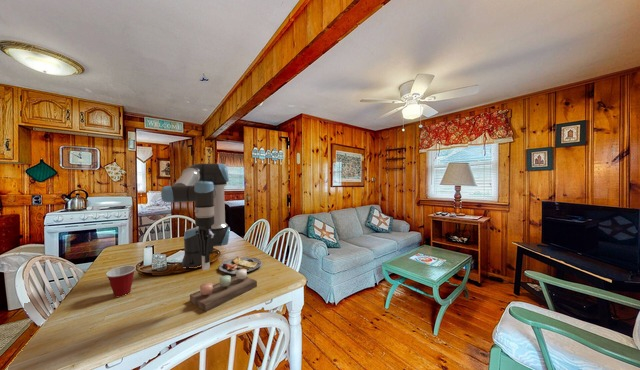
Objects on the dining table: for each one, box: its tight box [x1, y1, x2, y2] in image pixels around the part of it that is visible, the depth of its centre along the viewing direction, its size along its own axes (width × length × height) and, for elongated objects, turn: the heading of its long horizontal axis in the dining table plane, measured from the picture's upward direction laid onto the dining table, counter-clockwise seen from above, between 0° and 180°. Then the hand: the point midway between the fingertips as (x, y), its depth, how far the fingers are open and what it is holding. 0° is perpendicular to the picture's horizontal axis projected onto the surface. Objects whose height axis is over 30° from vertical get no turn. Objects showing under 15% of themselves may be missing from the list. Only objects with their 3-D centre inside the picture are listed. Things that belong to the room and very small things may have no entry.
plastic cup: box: [105, 264, 137, 297], centre depth 106 cm, size 11×11×12 cm
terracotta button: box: [199, 282, 214, 295], centre depth 99 cm, size 5×5×3 cm
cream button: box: [235, 269, 248, 279], centre depth 113 cm, size 5×5×3 cm
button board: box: [189, 275, 258, 313], centre depth 106 cm, size 14×26×3 cm, turn 144°
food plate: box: [218, 256, 263, 275], centre depth 137 cm, size 25×23×4 cm
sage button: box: [219, 274, 232, 286], centre depth 106 cm, size 5×5×3 cm
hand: (206, 269), depth 98 cm, fingers closed
